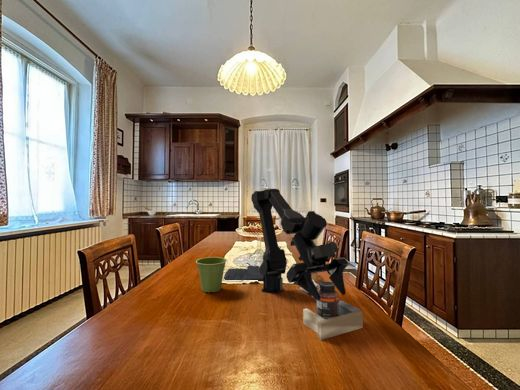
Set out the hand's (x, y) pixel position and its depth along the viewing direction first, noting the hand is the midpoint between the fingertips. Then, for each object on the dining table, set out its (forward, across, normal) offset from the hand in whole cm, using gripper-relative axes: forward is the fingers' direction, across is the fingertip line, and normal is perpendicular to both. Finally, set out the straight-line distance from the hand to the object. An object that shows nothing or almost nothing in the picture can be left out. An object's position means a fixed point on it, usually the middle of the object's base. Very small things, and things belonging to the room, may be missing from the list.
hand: (332, 297), depth 73 cm
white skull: (-12, +11, +24) cm, 28 cm away
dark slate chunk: (-32, 0, +45) cm, 55 cm away
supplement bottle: (+5, 0, +7) cm, 8 cm away
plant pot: (-26, -20, +37) cm, 50 cm away
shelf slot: (+5, 0, +7) cm, 8 cm away
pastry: (-19, +21, +31) cm, 42 cm away
